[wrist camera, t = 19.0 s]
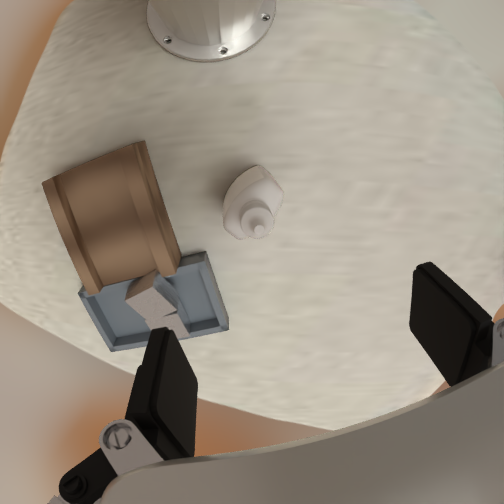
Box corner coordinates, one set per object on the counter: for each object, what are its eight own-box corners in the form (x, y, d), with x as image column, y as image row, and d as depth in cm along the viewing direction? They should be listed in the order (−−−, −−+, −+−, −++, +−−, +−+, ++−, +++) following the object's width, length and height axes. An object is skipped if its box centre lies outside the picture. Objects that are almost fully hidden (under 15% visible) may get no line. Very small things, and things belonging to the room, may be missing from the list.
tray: (85, 282, 34) (77, 293, 32) (206, 251, 34) (204, 261, 32) (115, 340, 38) (111, 352, 36) (228, 317, 38) (228, 329, 36)
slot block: (61, 173, 29) (41, 182, 25) (144, 140, 29) (131, 144, 25) (101, 275, 34) (88, 295, 30) (181, 254, 34) (175, 274, 30)
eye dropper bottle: (214, 179, 31) (207, 214, 20) (267, 161, 31) (290, 186, 20) (228, 217, 33) (230, 271, 22) (279, 200, 32) (307, 245, 21)
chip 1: (128, 284, 32) (124, 301, 30) (155, 269, 31) (152, 286, 29) (152, 305, 34) (149, 322, 32) (179, 292, 33) (177, 310, 31)
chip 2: (158, 342, 35) (160, 326, 37) (189, 336, 35) (190, 320, 37) (144, 320, 33) (147, 304, 35) (177, 313, 33) (178, 297, 35)
